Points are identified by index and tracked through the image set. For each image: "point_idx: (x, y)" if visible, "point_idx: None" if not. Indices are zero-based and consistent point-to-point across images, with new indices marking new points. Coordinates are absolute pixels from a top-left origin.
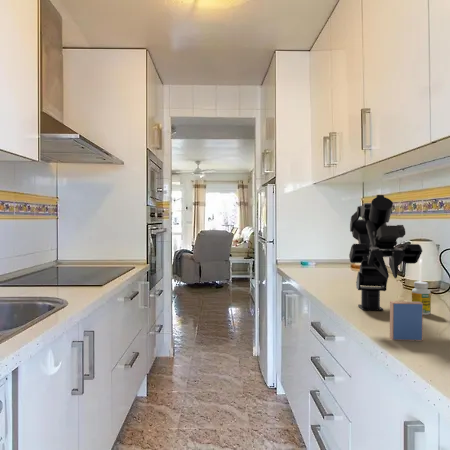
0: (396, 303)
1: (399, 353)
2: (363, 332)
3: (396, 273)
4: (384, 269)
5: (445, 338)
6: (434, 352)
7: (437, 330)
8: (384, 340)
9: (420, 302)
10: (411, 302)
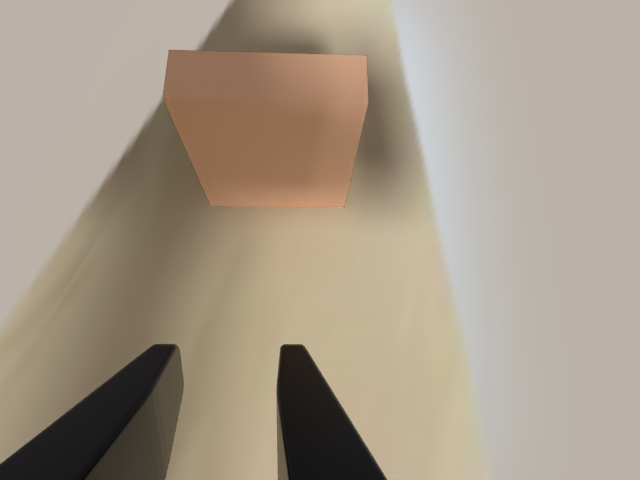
0: (342, 57)
1: (370, 30)
2: (449, 282)
3: (143, 362)
4: (335, 409)
5: (84, 209)
6: (240, 43)
7: (28, 353)
8: (380, 165)
9: (168, 73)
10: (232, 71)
